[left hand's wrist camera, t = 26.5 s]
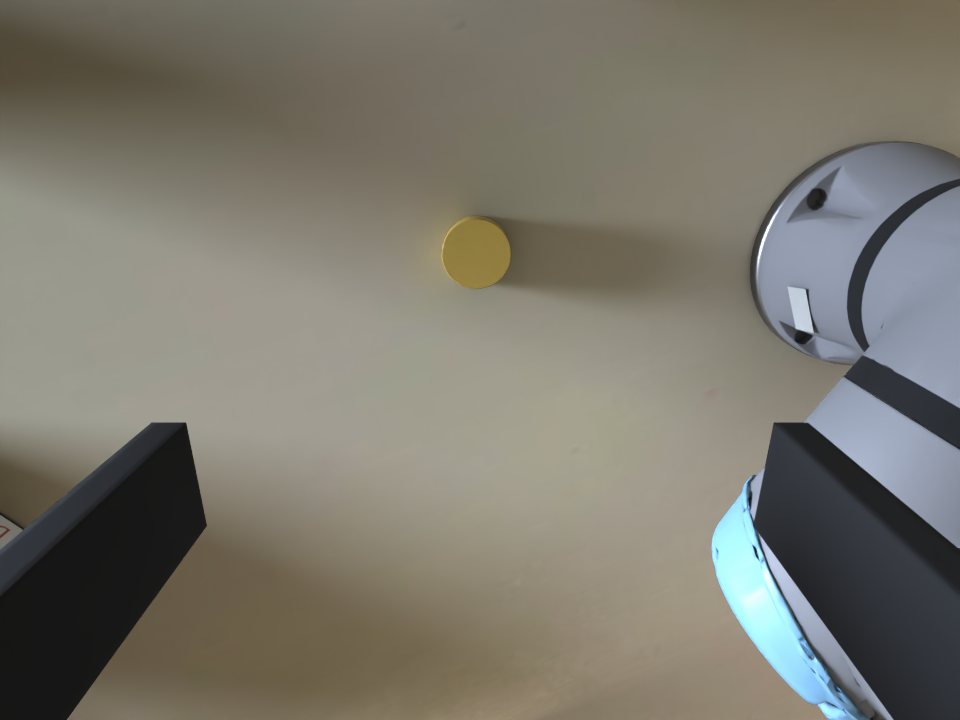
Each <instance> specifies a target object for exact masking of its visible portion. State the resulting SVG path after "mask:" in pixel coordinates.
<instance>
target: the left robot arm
mask: <svg viewBox="0 0 960 720" xmlns="http://www.w3.org/2000/svg"><path fill="white" fill-rule="evenodd" d="M750 280H751V289H752V294H753V298H754V301H755V304H756V307H757V309H758V311H759V314H760V315H761V317H762V319H763V320H764V322H765V323H766V325H767V326H768V327H769V328H770V330H771V331H772V332H773V333H774V334H775V335H776V336H778V337H779V338H780V339H781V340H783V341H784V342H786V343H787V344H789V345H790V346H792V347H794V348H795V349H797V350H798V351H800V352H802V353H804V354H806V355H809V356H811V357H814V358H817V359H820V360H823V361H827V362H831V363H836V364H844V365H853V366H852V368H851V369H850V370H849V371H848V372H847V373H846V375H844V376H843V377H842V378H841V380H840V381H839V382H838V383H837V384H836V385H835V386H834V388H833V389H832V390H831V391H830V392H829V393H828V394H827V396H826V397H825V398H824V399H823V400H822V401H821V402H820V404H819V405H818V406H817V407H816V408H815V409H814V411H813V412H812V413H811V414H810V415H809V416H808V417H807V419H806V420H805V421H804V422H803V423H774V425H773V430H772V435H771V440H770V445H769V450H768V455H767V460H766V465H765V467H764V468H763V469H762V470H761V471H760V473H759V474H758V475H753V476H752V477H750V478H749V479H748V480H747V482H746V483H745V485H744V487H743V492H742V494H741V495H740V496H739V498H738V499H737V500H736V502H735V503H734V504H733V505H732V507H731V508H730V509H729V511H728V512H727V513H726V515H725V516H724V517H723V519H722V520H721V521H720V523H719V524H718V526H717V527H716V530H715V532H714V535H713V539H712V555H713V562H714V565H715V567H716V574H717V578H718V581H719V584H720V586H721V588H722V590H723V593H724V595H725V597H726V599H727V601H728V603H729V605H730V607H731V609H732V610H733V612H734V614H735V615H736V617H737V619H738V620H739V622H740V623H741V625H742V627H743V628H744V629H745V631H746V632H747V634H748V635H749V637H750V638H751V640H752V641H753V642H754V644H755V645H756V646H757V648H758V649H759V650H760V652H761V653H762V654H763V655H764V657H765V658H766V659H767V660H768V662H769V663H770V664H771V665H772V666H773V668H774V669H775V670H776V671H777V672H778V673H779V674H780V676H781V677H782V678H783V679H784V680H785V681H786V682H787V683H788V684H789V685H790V686H791V687H792V688H793V689H794V690H795V691H796V692H797V693H798V694H799V695H800V696H801V697H803V698H804V699H805V700H806V701H807V702H808V703H810V704H813V705H817V704H818V706H819V707H820V708H821V710H822V711H823V713H824V714H825V715H826V717H827V718H828V719H830V720H960V159H959V158H958V157H956V156H954V155H952V154H950V153H948V152H946V151H944V150H941V149H938V148H935V147H931V146H927V145H922V144H918V143H912V142H898V141H895V142H872V143H866V144H860V145H856V146H853V147H849V148H846V149H844V150H841V151H838V152H836V153H834V154H832V155H830V156H827V157H826V158H824V159H822V160H820V161H819V162H817V163H815V164H814V165H813V166H811V167H810V168H808V169H807V170H805V171H804V172H803V173H802V174H801V175H799V176H798V177H797V178H796V179H795V180H794V181H793V182H792V183H791V184H790V185H789V186H788V187H787V188H786V189H785V190H784V191H783V192H782V194H781V195H780V196H779V197H778V199H777V200H776V201H775V203H774V204H773V205H772V207H771V209H770V210H769V212H768V213H767V215H766V217H765V219H764V221H763V223H762V225H761V227H760V229H759V232H758V234H757V237H756V240H755V244H754V247H753V252H752V257H751V266H750ZM858 385H859V386H858ZM863 388H864V389H863ZM868 391H869V392H868ZM871 393H872V394H871ZM873 394H874V395H873ZM876 396H877V397H876ZM878 397H879V398H880V399H879V398H878ZM881 399H882V400H881ZM883 400H884V401H885V402H884V401H883ZM886 402H887V403H886ZM889 404H890V405H889ZM891 405H892V406H893V407H892V406H891ZM894 407H895V408H894ZM897 409H898V410H897ZM899 410H900V411H901V412H900V411H899ZM902 412H903V413H902ZM905 414H906V415H905ZM907 415H908V416H907ZM910 417H911V418H910ZM913 419H914V420H913ZM915 420H916V421H915ZM918 422H919V423H918ZM921 424H922V425H921ZM923 425H924V426H923ZM926 427H927V428H926ZM929 429H930V430H929ZM934 432H935V433H934ZM937 434H938V435H937ZM958 447H959V448H958ZM206 526H207V524H206V519H205V514H204V509H203V504H202V499H201V494H200V489H199V484H198V479H197V474H196V470H195V465H194V460H193V455H192V450H191V445H190V440H189V435H188V430H187V425H186V423H151V424H150V425H148V426H147V427H146V428H145V429H144V430H142V431H141V432H140V433H139V434H138V435H136V436H135V437H134V438H133V439H132V440H130V441H129V442H128V443H127V444H126V445H124V446H123V447H122V448H121V449H120V450H118V451H117V452H116V453H115V454H114V455H113V456H111V457H110V458H109V459H108V460H107V461H105V462H104V463H103V464H102V465H101V466H99V467H98V468H97V469H96V470H95V471H93V472H92V473H91V474H90V475H89V476H87V477H86V478H85V479H84V480H83V481H81V482H80V483H79V484H78V485H77V486H76V487H74V488H73V489H72V490H71V491H70V492H68V493H67V494H66V495H65V496H64V497H62V498H61V499H60V500H59V501H58V502H56V503H55V504H54V505H53V506H52V507H50V508H49V509H48V510H47V511H46V512H44V513H43V514H42V515H41V516H40V517H38V518H37V519H36V520H35V521H34V522H33V523H31V524H30V525H29V526H28V527H27V528H25V529H24V530H23V531H22V532H21V533H19V534H18V535H17V536H16V537H15V538H13V539H12V540H11V541H10V542H9V543H7V544H6V545H5V546H4V547H3V548H1V549H0V720H67V718H68V717H69V716H70V714H71V713H72V712H73V710H74V709H75V707H76V706H77V705H78V703H79V702H80V701H81V699H82V698H83V696H84V695H85V694H86V692H87V691H88V689H89V688H90V687H91V685H92V684H93V683H94V681H95V680H96V678H97V677H98V676H99V674H100V673H101V671H102V670H103V669H104V667H105V666H106V665H107V663H108V662H109V660H110V659H111V658H112V656H113V655H114V653H115V652H116V651H117V649H118V648H119V647H120V645H121V644H122V642H123V641H124V640H125V638H126V637H127V635H128V634H129V633H130V631H131V630H132V629H133V627H134V626H135V624H136V623H137V622H138V620H139V619H140V617H141V616H142V615H143V613H144V612H145V611H146V609H147V608H148V606H149V605H150V604H151V602H152V601H153V600H154V598H155V597H156V595H157V594H158V593H159V591H160V590H161V588H162V587H163V586H164V584H165V583H166V582H167V580H168V579H169V577H170V576H171V575H172V573H173V572H174V570H175V569H176V568H177V566H178V565H179V564H180V562H181V561H182V559H183V558H184V557H185V555H186V554H187V552H188V551H189V550H190V548H191V547H192V546H193V544H194V543H195V541H196V540H197V539H198V537H199V536H200V534H201V533H202V532H203V530H204V529H205V528H206Z"/></svg>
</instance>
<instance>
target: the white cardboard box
mask: <svg viewBox="0 0 960 720" xmlns="http://www.w3.org/2000/svg"><path fill="white" fill-rule="evenodd" d="M22 531H23V530H22V529H21V528H19V527H18V526H16V525H15V524H13V523H12V522H10V521H9V520H7V519H6V518H4V517H3V516H1V515H0V549H1V548H3V547H4V546H5V545H6V544H7V543H9V542H10V541H11V540H12V539H13V538H15V537H16V536H17V535H18V534H19V533H21V532H22Z"/></svg>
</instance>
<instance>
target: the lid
mask: <svg viewBox="0 0 960 720" xmlns="http://www.w3.org/2000/svg"><path fill="white" fill-rule="evenodd" d="M510 260H511V248H510V244H509V241H508V238H507V235H506V233H505V231H504V230H503V229H502V227H501V226H500V225H499V224H498V223H496V222H495V221H493V220H492V219H490V218H487V217H483V216H470V217H466V218H463V219H461V220H460V221H458V222H457V223H455V224H454V225H453V226H452V227H451V229H450V230H449V232H448V233H447V235H446V238H445V240H444V243H443V247H442V261H443V265H444V268H445V270H446V272H447V273H448V274H449V276H450V277H451V278H452V279H453V280H454V281H455V282H457V283H458V284H460V285H462V286H464V287H467V288H472V289H481V288H486V287H489V286H491V285H493V284H495V283H496V282H498V281H499V280H500V279H501V278H502V277H503V276H504V274H505V273H506V271H507V269H508V267H509V264H510Z"/></svg>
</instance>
